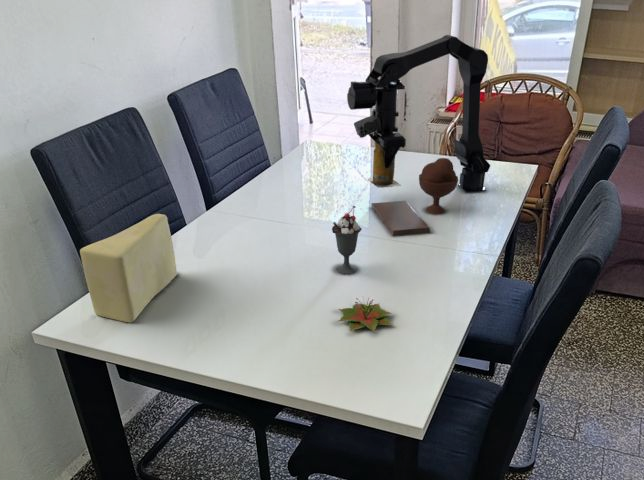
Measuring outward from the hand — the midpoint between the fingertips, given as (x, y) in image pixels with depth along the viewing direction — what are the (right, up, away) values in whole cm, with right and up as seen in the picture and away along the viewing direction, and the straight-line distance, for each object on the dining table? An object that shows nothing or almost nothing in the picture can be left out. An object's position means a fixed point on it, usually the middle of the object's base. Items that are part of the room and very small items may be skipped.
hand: (383, 164), depth 184 cm
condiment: (0, -5, +2) cm, 5 cm away
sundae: (-10, -34, -33) cm, 48 cm away
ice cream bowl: (+15, -13, -1) cm, 20 cm away
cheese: (-53, -41, -45) cm, 81 cm away
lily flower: (-6, -47, -52) cm, 70 cm away
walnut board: (+4, -17, -7) cm, 19 cm away
